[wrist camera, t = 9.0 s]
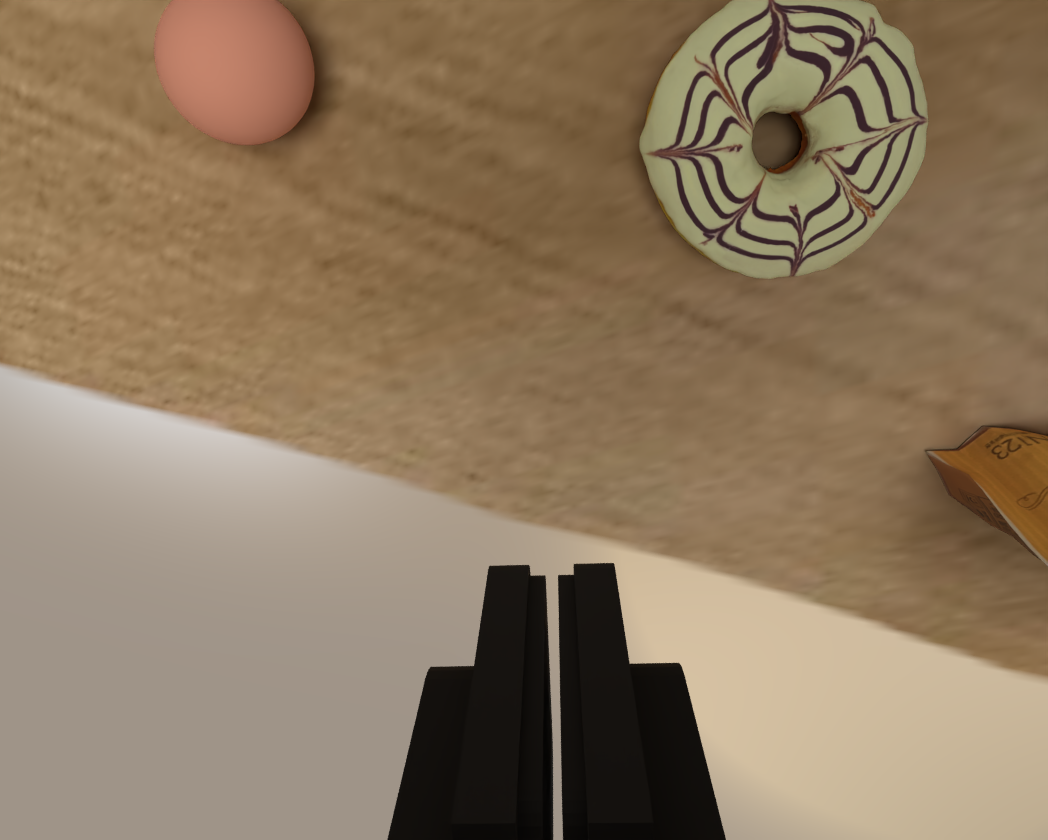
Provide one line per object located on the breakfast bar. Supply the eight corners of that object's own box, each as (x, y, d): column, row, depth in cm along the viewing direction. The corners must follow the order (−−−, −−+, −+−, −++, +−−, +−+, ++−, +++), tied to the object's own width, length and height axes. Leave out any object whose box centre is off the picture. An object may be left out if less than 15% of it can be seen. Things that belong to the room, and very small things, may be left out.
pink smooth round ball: (300, 134, 25) (359, 107, 30) (222, -46, 23) (299, -45, 27) (174, 177, 27) (248, 146, 31) (88, 14, 24) (182, 5, 29)
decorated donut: (752, -63, 28) (786, -96, 25) (944, 113, 30) (1000, 106, 27) (588, 166, 31) (597, 166, 28) (774, 313, 33) (805, 331, 30)
